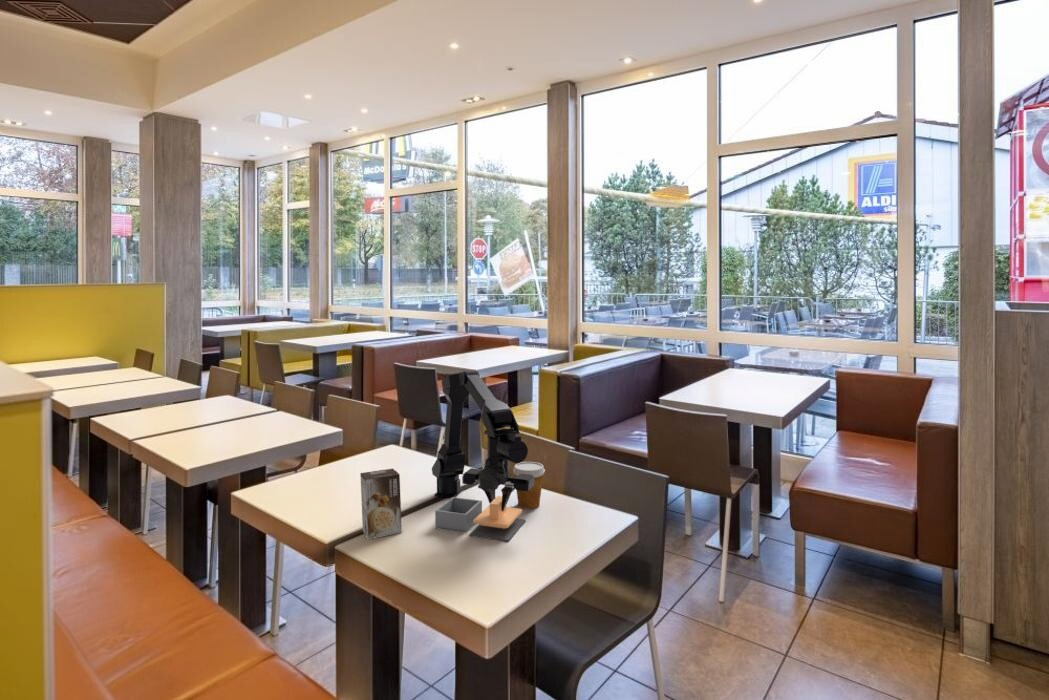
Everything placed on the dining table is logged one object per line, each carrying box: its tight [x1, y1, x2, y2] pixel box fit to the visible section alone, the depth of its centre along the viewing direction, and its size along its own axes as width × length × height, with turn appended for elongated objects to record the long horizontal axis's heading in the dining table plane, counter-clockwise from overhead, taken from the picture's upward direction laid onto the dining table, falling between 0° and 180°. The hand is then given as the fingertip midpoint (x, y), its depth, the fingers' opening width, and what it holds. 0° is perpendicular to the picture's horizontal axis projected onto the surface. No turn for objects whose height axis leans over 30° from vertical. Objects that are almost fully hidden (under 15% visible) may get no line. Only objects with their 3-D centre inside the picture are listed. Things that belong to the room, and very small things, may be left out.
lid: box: [473, 495, 523, 529], centre depth 159 cm, size 10×12×6 cm
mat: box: [468, 517, 527, 543], centre depth 160 cm, size 11×14×1 cm
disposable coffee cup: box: [512, 461, 546, 510], centre depth 176 cm, size 10×10×12 cm
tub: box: [434, 496, 483, 534], centre depth 163 cm, size 9×11×5 cm
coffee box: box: [360, 468, 403, 539], centre depth 157 cm, size 9×6×16 cm
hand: (498, 510), depth 159 cm, fingers closed on lid, 2 cm apart
